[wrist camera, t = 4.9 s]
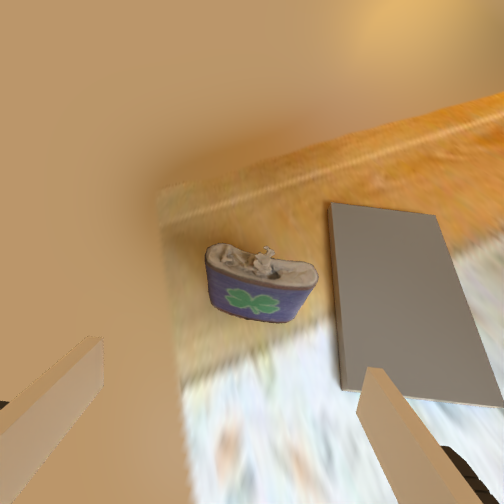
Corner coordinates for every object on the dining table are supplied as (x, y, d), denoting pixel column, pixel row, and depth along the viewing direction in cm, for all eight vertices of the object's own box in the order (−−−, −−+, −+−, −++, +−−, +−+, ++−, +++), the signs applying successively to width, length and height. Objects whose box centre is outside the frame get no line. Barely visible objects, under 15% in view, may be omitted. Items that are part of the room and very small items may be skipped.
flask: (296, 303, 28) (328, 251, 19) (292, 330, 26) (326, 288, 17) (213, 285, 28) (205, 225, 19) (205, 310, 27) (192, 258, 18)
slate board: (427, 222, 35) (435, 215, 34) (491, 407, 24) (506, 407, 23) (327, 209, 35) (331, 202, 34) (341, 390, 24) (348, 389, 22)
